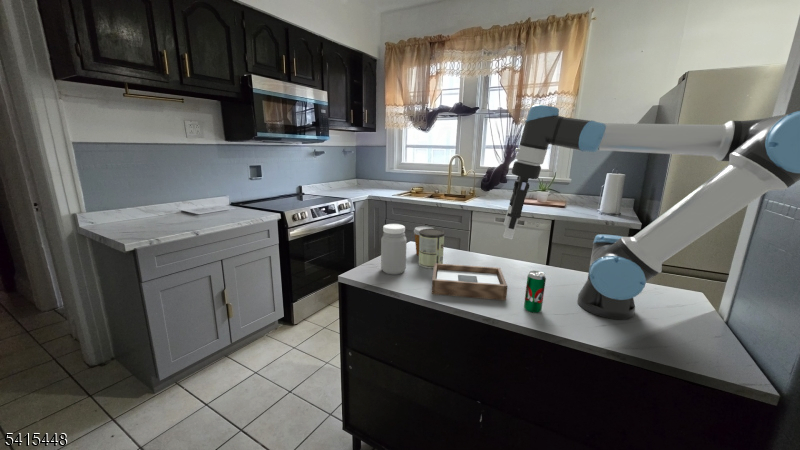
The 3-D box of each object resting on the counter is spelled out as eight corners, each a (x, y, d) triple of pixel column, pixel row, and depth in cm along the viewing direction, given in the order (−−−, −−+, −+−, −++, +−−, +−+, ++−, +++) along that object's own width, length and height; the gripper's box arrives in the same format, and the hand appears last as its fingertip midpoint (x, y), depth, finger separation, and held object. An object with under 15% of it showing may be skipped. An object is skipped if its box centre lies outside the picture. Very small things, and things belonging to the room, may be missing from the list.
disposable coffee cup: (438, 255, 146) (439, 230, 143) (420, 259, 141) (421, 232, 138) (425, 249, 153) (427, 225, 151) (408, 252, 149) (409, 227, 146)
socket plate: (495, 281, 119) (496, 274, 118) (501, 298, 106) (502, 289, 105) (437, 277, 122) (437, 269, 121) (435, 292, 109) (436, 284, 108)
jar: (388, 264, 134) (389, 222, 129) (409, 268, 130) (411, 225, 125) (376, 272, 125) (376, 227, 121) (398, 277, 121) (399, 230, 117)
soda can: (542, 308, 100) (547, 272, 97) (540, 315, 95) (545, 278, 92) (525, 304, 102) (529, 268, 99) (522, 311, 98) (526, 274, 95)
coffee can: (418, 259, 141) (419, 227, 137) (442, 260, 140) (444, 229, 136) (417, 268, 131) (418, 234, 127) (443, 269, 130) (445, 235, 126)
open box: (498, 280, 120) (500, 267, 119) (505, 300, 105) (507, 286, 103) (433, 275, 123) (434, 263, 122) (431, 294, 108) (432, 280, 107)
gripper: (514, 157, 104) (496, 218, 111) (515, 164, 82) (493, 240, 89) (538, 161, 103) (519, 224, 110) (546, 170, 80) (521, 248, 87)
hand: (507, 231), depth 99 cm, fingers open, 13 cm apart
